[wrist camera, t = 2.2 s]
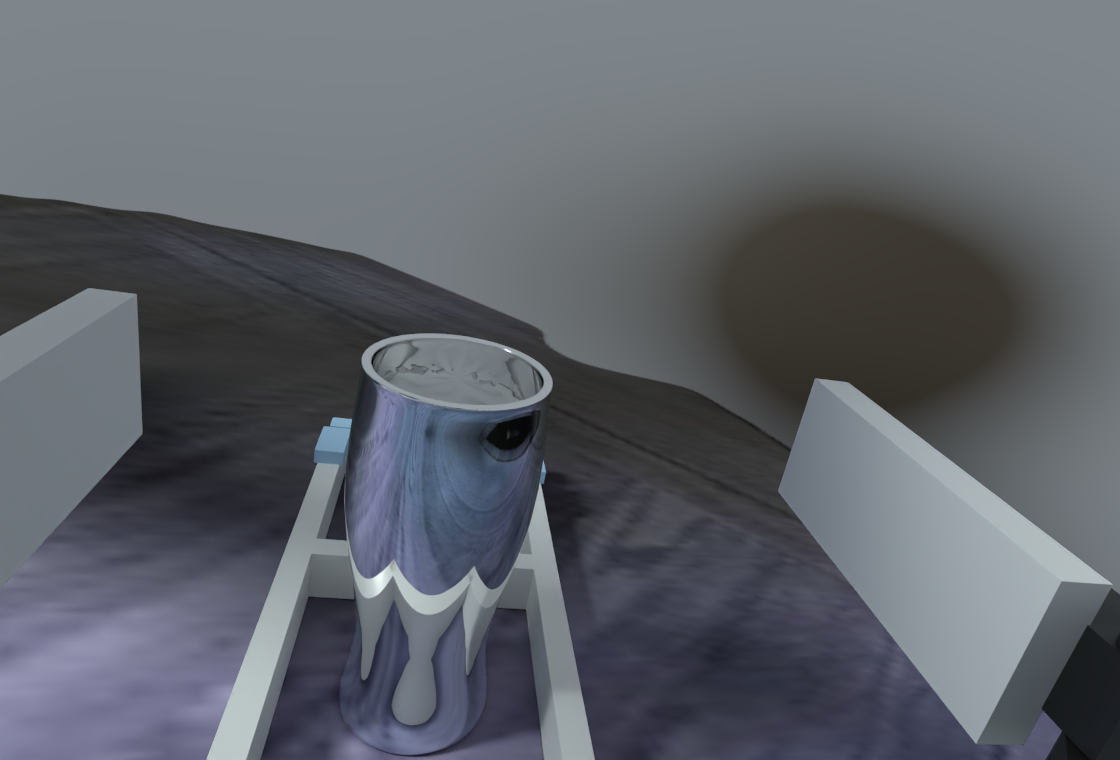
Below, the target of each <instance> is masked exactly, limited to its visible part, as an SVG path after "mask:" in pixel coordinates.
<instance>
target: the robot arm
mask: <svg viewBox="0 0 1120 760" xmlns="http://www.w3.org/2000/svg"><path fill="white" fill-rule="evenodd" d="M142 434H143V431H142V408H141V385H140V362H139V338H138V315H137V294H132V293H124V292H116V291H108V290H99V289H91V288H88V289H86V290H84V291H83V292H81V293H79V294H77V295H75V296H73V297H72V298H70V299H68V300H66V301H64V302H62V303H60V304H59V305H57V306H55V307H53V308H51V309H49V310H48V311H46V312H44V313H42V314H40V315H38V316H36V317H35V318H33V319H31V320H29V321H27V322H25V323H24V324H22V325H20V326H18V327H16V328H14V329H13V330H11V331H9V332H7V333H5V334H3V335H1V336H0V589H1V588H2V587H3V586H4V584H5V583H6V582H7V581H8V580H9V579H10V578H11V577H12V576H13V575H14V574H15V572H16V571H17V570H18V569H19V568H20V567H21V566H22V565H23V564H24V563H25V562H26V560H27V559H28V558H29V557H30V556H31V555H32V554H33V553H34V552H35V551H36V550H37V548H38V547H39V546H40V545H41V544H42V543H43V542H44V541H45V540H46V539H47V537H48V536H49V535H50V534H51V533H52V532H53V531H54V530H55V529H56V528H57V527H58V525H59V524H60V523H61V522H62V521H63V520H64V519H65V518H66V517H67V516H68V515H69V513H70V512H71V511H72V510H73V509H74V508H75V507H76V506H77V505H78V504H79V503H80V501H81V500H82V499H83V498H84V497H85V496H86V495H87V494H88V493H89V492H90V491H91V489H92V488H93V487H94V486H95V485H96V484H97V483H98V482H99V481H100V480H101V479H102V477H103V476H104V475H105V474H106V473H107V472H108V471H109V470H110V469H111V468H112V467H113V465H114V464H115V463H116V462H117V461H118V460H119V459H120V458H121V457H122V456H123V455H124V453H125V452H126V451H127V450H128V449H129V448H130V447H131V446H132V445H133V444H134V443H135V441H136V440H137V439H138V438H139V437H140V436H141V435H142ZM778 492H779V493H780V495H781V496H782V497H783V498H784V500H785V501H786V502H787V503H788V505H789V506H790V507H791V509H792V510H793V511H794V512H795V514H796V515H797V516H798V517H799V519H800V520H801V521H802V523H803V524H804V525H805V526H806V528H807V529H808V530H809V532H810V533H811V534H812V535H813V537H814V538H815V539H816V540H817V542H818V543H819V544H820V546H821V547H822V548H823V549H824V551H825V552H826V553H827V554H828V556H829V557H830V558H831V560H832V561H833V562H834V563H835V565H836V566H837V567H838V569H839V570H840V571H841V572H842V574H843V575H844V576H845V577H846V579H847V580H848V581H849V583H850V584H851V585H852V586H853V588H854V589H855V590H856V591H857V593H858V594H859V595H860V597H861V598H862V599H863V600H864V602H865V603H866V604H867V605H868V607H869V608H870V609H871V611H872V612H873V613H874V614H875V616H876V617H877V618H878V620H879V621H880V622H881V623H882V625H883V626H884V627H885V628H886V630H887V631H888V632H889V634H890V635H891V636H892V637H893V639H894V640H895V641H896V642H897V644H898V645H899V646H900V648H901V649H902V650H903V651H904V653H905V654H906V655H907V657H908V658H909V659H910V660H911V662H912V663H913V664H914V665H915V667H916V668H917V669H918V671H919V672H920V673H921V674H922V676H923V677H924V678H925V679H926V681H927V682H928V683H929V685H930V686H931V687H932V688H933V690H934V691H935V692H936V694H937V695H938V696H939V697H940V699H941V700H942V701H943V702H944V704H945V705H946V706H947V708H948V709H949V710H950V711H951V713H952V714H953V715H954V716H955V718H956V719H957V720H958V722H959V723H960V724H961V725H962V727H963V728H964V729H965V730H966V732H967V733H968V734H969V736H970V737H971V738H972V739H973V741H974V742H975V743H976V744H997V745H1024V743H1025V742H1026V740H1027V738H1028V736H1029V734H1030V733H1031V731H1032V729H1033V727H1034V725H1035V724H1036V722H1037V720H1038V718H1039V716H1040V715H1041V713H1042V711H1044V712H1045V713H1046V714H1047V715H1048V716H1049V717H1050V718H1051V719H1052V720H1053V721H1054V722H1055V723H1056V725H1057V726H1058V727H1059V728H1060V729H1061V730H1062V732H1061V734H1060V736H1059V738H1058V739H1057V741H1056V743H1055V744H1054V746H1053V748H1052V750H1051V751H1050V753H1049V755H1048V757H1047V758H1046V760H1120V595H1119V594H1118V593H1117V592H1116V591H1114V590H1113V589H1112V588H1111V587H1112V586H1113V585H1112V584H1111V583H1110V582H1109V581H1107V580H1106V579H1105V578H1103V577H1102V576H1101V575H1099V574H1098V573H1097V572H1095V571H1094V570H1093V569H1091V568H1090V567H1089V566H1088V565H1086V564H1085V563H1084V562H1082V561H1081V560H1080V559H1078V558H1077V557H1076V556H1075V555H1073V554H1072V553H1071V552H1069V551H1068V550H1067V549H1065V548H1064V547H1063V546H1061V545H1060V544H1059V543H1057V542H1056V541H1055V540H1054V539H1052V538H1051V537H1050V536H1048V535H1047V534H1045V533H1044V532H1043V531H1042V530H1040V529H1039V528H1038V527H1037V526H1035V525H1034V524H1033V523H1031V522H1030V521H1029V520H1027V519H1026V518H1025V517H1023V516H1022V515H1021V514H1019V513H1018V512H1017V511H1016V510H1014V509H1013V508H1012V507H1010V506H1009V505H1007V504H1006V503H1005V502H1004V501H1002V500H1001V499H1000V498H999V497H997V496H996V495H995V494H993V493H992V492H991V491H989V490H988V489H987V488H985V487H984V486H982V485H981V484H980V483H979V482H978V481H976V480H975V479H974V478H972V477H971V476H969V475H968V474H967V473H966V472H964V471H963V470H962V469H960V468H959V467H958V466H956V465H955V464H954V463H953V462H951V461H950V460H949V459H947V458H946V457H945V456H944V455H942V454H941V453H939V452H938V451H937V450H936V449H934V448H933V447H932V446H930V445H929V444H928V443H927V442H925V441H924V440H923V439H921V438H920V437H919V436H917V435H916V434H915V433H914V432H912V431H911V430H910V429H908V428H907V427H906V426H904V425H903V424H902V423H900V422H899V421H898V420H896V419H895V418H894V417H893V416H891V415H890V414H889V413H887V412H886V411H885V410H883V409H882V408H881V407H879V406H878V405H877V404H876V403H874V402H873V401H872V400H870V399H869V398H868V397H866V396H865V395H864V394H862V393H861V392H860V391H859V390H857V389H856V388H855V387H853V386H852V385H851V384H849V383H848V382H840V381H832V380H824V379H815V381H814V384H813V387H812V390H811V393H810V396H809V399H808V402H807V405H806V408H805V412H804V414H803V417H802V420H801V423H800V426H799V429H798V432H797V436H796V438H795V441H794V445H793V447H792V450H791V454H790V457H789V460H788V463H787V466H786V469H785V472H784V475H783V478H782V481H781V484H780V487H779V490H778Z"/></svg>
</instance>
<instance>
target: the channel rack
mask: <svg viewBox="0 0 1120 760" xmlns="http://www.w3.org/2000/svg"><path fill="white" fill-rule="evenodd" d="M347 451H348V450H347ZM346 459H347V453H346V456H345V459H344V463H343V465H337V464H326V463H317V466H316V469H315V471H314V474H313V477H312V479H311V482H310V485H309V487H308V490H307V493H306V495H305V498H304V501H303V503H302V506H301V509H300V511H299V514H298V517H297V519H296V522H295V525H294V527H293V530H292V533H291V535H290V538H289V541H288V543H287V546H286V549H285V551H284V554H283V557H282V559H281V562H280V565H279V567H278V570H277V573H276V576H275V578H274V581H273V584H272V586H271V589H270V592H269V594H268V597H267V600H266V602H265V605H264V608H263V610H262V613H261V616H260V618H259V621H258V624H257V626H256V629H255V632H254V634H253V637H252V640H251V642H250V645H249V648H248V650H247V653H246V656H245V658H244V661H243V664H242V666H241V669H240V672H239V674H238V677H237V680H236V682H235V685H234V688H233V690H232V693H231V696H230V698H229V701H228V704H227V706H226V709H225V712H224V714H223V717H222V720H221V722H220V725H219V728H218V730H217V733H216V736H215V738H214V741H213V744H212V746H211V749H210V752H209V754H208V757H207V760H260V759H261V756H262V753H263V749H264V746H265V742H266V739H267V736H268V732H269V729H270V725H271V722H272V719H273V715H274V712H275V709H276V705H277V702H278V698H279V695H280V692H281V688H282V685H283V681H284V678H285V675H286V671H287V668H288V664H289V661H290V658H291V654H292V651H293V648H294V644H295V641H296V637H297V634H298V631H299V627H300V624H301V620H302V617H303V614H304V610H305V607H306V604H307V600H308V597H324V598H341V599H354V590H353V583H352V576H351V569H350V561H349V553H348V545H347V541H344V540H331V539H326V536H327V532H328V529H329V526H330V522H331V519H332V516H333V512H334V509H335V505H336V502H337V499H338V495H339V492H340V488H341V485H342V482H343V478H344V475H345V471H346ZM497 608H510V609H526V614H527V622H528V631H529V639H530V647H531V655H532V664H533V672H534V680H535V688H536V697H537V705H538V713H539V721H540V729H541V738H542V746H543V754H544V760H595V758H594V753H593V748H592V743H591V738H590V733H589V728H588V722H587V717H586V712H585V707H584V702H583V697H582V692H581V687H580V682H579V676H578V671H577V666H576V661H575V656H574V651H573V646H572V641H571V636H570V631H569V625H568V620H567V615H566V610H565V605H564V600H563V595H562V590H561V585H560V579H559V574H558V569H557V564H556V559H555V554H554V549H553V544H552V539H551V534H550V528H549V523H548V518H547V513H546V508H545V503H544V498H543V493H542V488H541V483H539V489H538V494H537V498H536V502H535V506H534V510H533V515H532V519H531V523H530V526H529V528H528V531H527V534H526V537H525V540H524V543H523V546H522V549H521V552H520V554H519V557H518V559H517V562H516V564H515V567H514V569H513V572H512V574H511V576H510V579H509V581H508V584H507V586H506V588H505V591H504V593H503V595H502V598H501V600H500V602H499V605H498V607H497Z"/></svg>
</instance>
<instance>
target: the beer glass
mask: <svg viewBox="0 0 1120 760" xmlns="http://www.w3.org/2000/svg"><path fill="white" fill-rule="evenodd" d="M552 387H553V381H552V378H551V376H550V374H549V372H548V371H547V370H546V369H545V368H544V367H543V366H542V365H541V364H540V363H539V362H537V361H536V360H534V359H533V358H531V357H529V356H527V355H525V354H523V353H521V352H519V351H517V350H515V349H512V348H509V347H507V346H504V345H501V344H497V343H494V342H490V341H486V340H482V339H477V338H472V337H466V336H459V335H449V334H409V335H401V336H396V337H391V338H388V339H384V340H382V341H379V342H377V343H375V344H373V345H371V346H370V347H369V348H368V349H367V350H366V351H365V352H364V353H363V355H362V358H361V371H360V378H359V384H358V389H357V394H356V399H355V405H354V410H353V416H352V422H351V428H350V434H349V442H348V451H347V459H346V471H345V494H344V506H345V522H346V536H347V545H348V553H349V561H350V569H351V576H352V583H353V590H354V599H355V608H356V627H355V634H354V640H353V644H352V648H351V651H350V654H349V657H348V660H347V663H346V665H345V668H344V671H343V674H342V678H341V681H340V687H339V705H340V710H341V713H342V716H343V718H344V720H345V722H346V724H347V726H348V727H349V728H350V729H351V731H352V732H353V733H354V734H355V735H356V736H357V737H359V738H360V739H361V740H362V741H364V742H365V743H367V744H369V745H371V746H373V747H375V748H377V749H380V750H382V751H386V752H389V753H394V754H401V755H421V754H428V753H432V752H436V751H439V750H442V749H445V748H447V747H449V746H451V745H453V744H455V743H457V742H458V741H460V740H461V739H462V738H464V737H465V736H466V735H467V734H468V733H469V732H470V731H471V730H472V729H473V728H474V726H475V725H476V724H477V722H478V720H479V718H480V716H481V714H482V712H483V709H484V706H485V701H486V691H487V682H486V661H485V654H486V643H487V637H488V633H489V629H490V625H491V623H492V620H493V617H494V615H495V612H496V610H497V607H498V605H499V602H500V600H501V598H502V595H503V593H504V591H505V588H506V586H507V584H508V581H509V579H510V576H511V574H512V572H513V569H514V567H515V564H516V562H517V559H518V557H519V554H520V552H521V549H522V546H523V543H524V540H525V537H526V534H527V531H528V528H529V526H530V523H531V519H532V515H533V510H534V506H535V502H536V498H537V494H538V489H539V483H540V477H541V471H542V465H543V459H544V450H545V442H546V433H547V423H548V412H549V403H550V395H551V390H552Z"/></svg>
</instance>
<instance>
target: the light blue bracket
mask: <svg viewBox="0 0 1120 760" xmlns="http://www.w3.org/2000/svg"><path fill="white" fill-rule="evenodd" d="M351 422H352V419H344V418H334V417H333V419H332V422H331V424H330V427H326V426H324V428H323V430H322V433H321V435H320V438H319V440H318V443H317V445H316V448H315V452H314V462H316V463H326V464H337V465H343V463H344V459H345V456H346V453H347V450H348V442H349V434H350V428H351ZM545 475H546V470H545V465H544V461H543V465H542V471H541V477H540V483H541V484H544V480H545Z"/></svg>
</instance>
